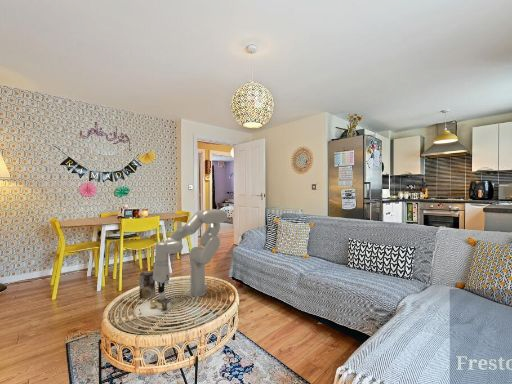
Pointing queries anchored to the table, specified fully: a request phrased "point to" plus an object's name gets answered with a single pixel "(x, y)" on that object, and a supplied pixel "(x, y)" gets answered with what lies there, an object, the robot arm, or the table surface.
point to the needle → (158, 304)
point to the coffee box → (147, 285)
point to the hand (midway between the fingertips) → (161, 292)
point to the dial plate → (151, 309)
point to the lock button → (161, 297)
